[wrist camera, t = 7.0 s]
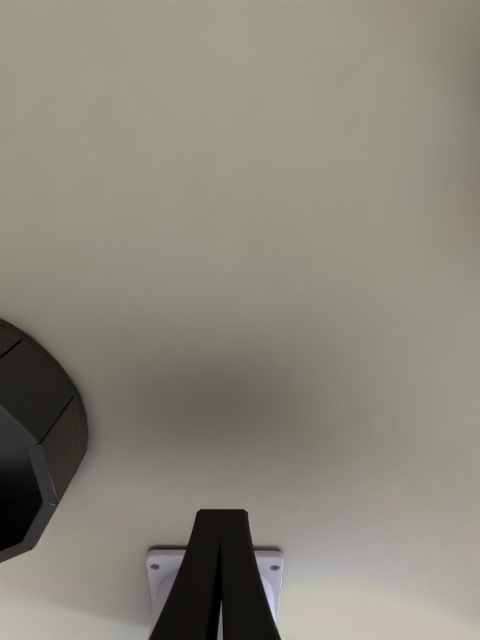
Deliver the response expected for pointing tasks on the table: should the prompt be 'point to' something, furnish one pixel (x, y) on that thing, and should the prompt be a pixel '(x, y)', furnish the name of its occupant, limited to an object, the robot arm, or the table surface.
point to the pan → (34, 439)
